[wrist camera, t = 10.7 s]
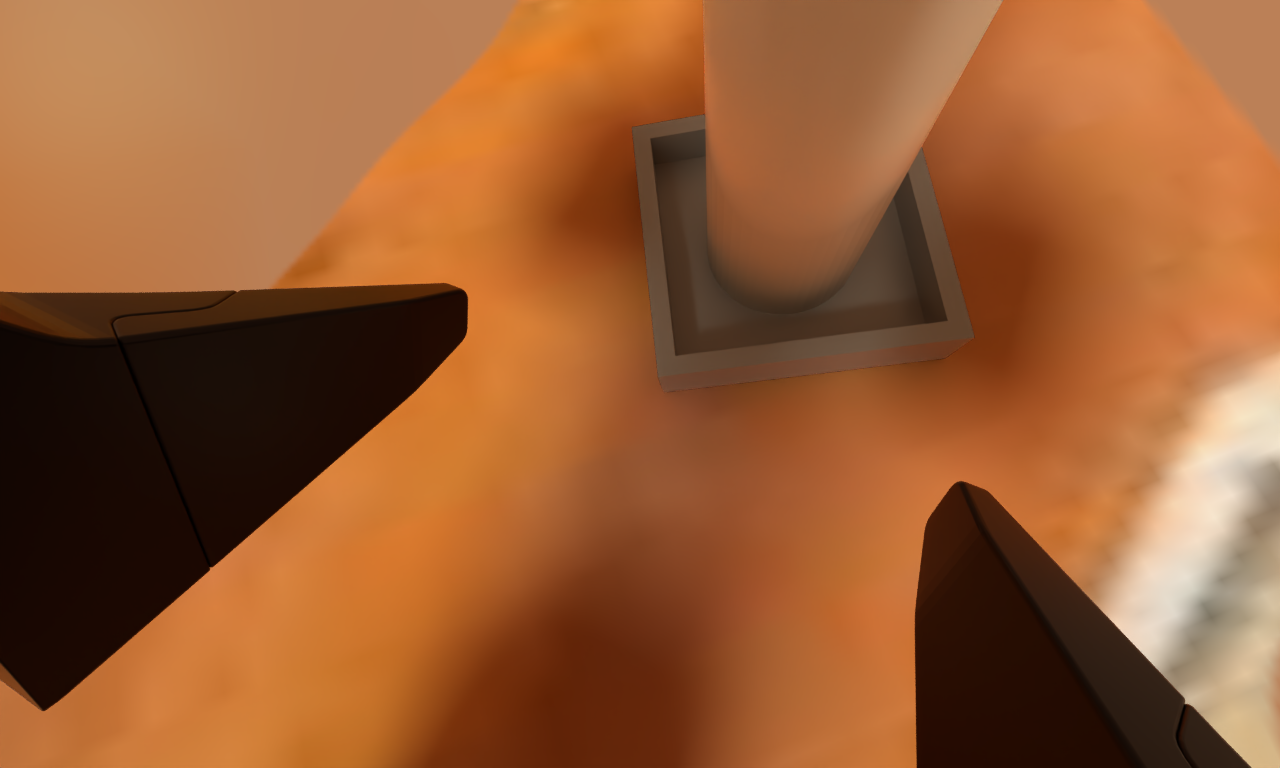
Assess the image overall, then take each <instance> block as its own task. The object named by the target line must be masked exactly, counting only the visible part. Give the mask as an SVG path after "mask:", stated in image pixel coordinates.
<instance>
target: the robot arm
mask: <svg viewBox="0 0 1280 768" xmlns="http://www.w3.org/2000/svg"><path fill="white" fill-rule="evenodd" d="M467 324H468V297H467V294H466V292H465V291H464V290H463V289H461V288H458V287H455V286H453V285H450V284H447V283H434V284H406V285H377V286H349V287H320V288H292V289H264V290H240V291H239V292H236V291H202V292H156V293H155V292H152V293H18V292H0V680H1V681H3V682H4V683H5V684H7V685H8V686H9V687H11V688H12V689H13V690H15V691H16V692H17V693H19V694H20V695H21V696H23V697H24V698H25V699H27V700H28V701H29V702H31V703H32V704H33V705H35V706H36V707H37V708H38V709H40V710H41V711H45V710H47V709H48V708H50V707H51V706H53V705H54V704H55V703H57V702H58V701H59V700H61V699H62V698H63V697H64V696H66V695H67V694H68V693H69V692H70V691H71V690H73V689H74V688H75V687H76V686H77V685H78V684H79V683H81V682H82V681H83V680H84V679H85V678H86V677H88V676H89V675H90V674H91V673H92V672H93V671H94V670H96V669H97V668H98V667H99V666H100V665H101V664H103V663H104V662H105V661H106V660H107V659H108V658H109V657H111V656H112V655H113V654H114V653H115V652H116V651H118V650H119V649H120V648H121V647H122V646H123V645H124V644H126V643H127V642H128V641H129V640H130V639H131V638H132V637H134V636H135V635H136V634H137V633H138V632H139V631H141V630H142V629H143V628H144V627H145V626H146V625H147V624H149V623H150V622H151V621H152V620H153V619H154V618H156V617H157V616H158V615H159V614H160V613H161V612H162V611H164V610H165V609H166V608H167V607H168V606H169V605H171V604H172V603H173V602H174V601H175V600H176V599H177V598H179V597H180V596H181V595H182V594H183V593H184V592H185V591H187V590H188V589H189V588H190V587H191V586H192V585H194V584H195V583H196V582H197V581H198V580H199V579H200V578H202V577H203V576H204V575H205V574H206V573H207V572H209V571H210V567H214V566H215V565H216V564H217V563H218V562H219V561H221V560H222V559H223V558H224V557H225V556H226V555H228V554H229V553H230V552H231V551H232V550H233V549H234V548H236V547H237V546H238V545H239V544H240V543H241V542H243V541H244V540H245V539H246V538H247V537H248V536H249V535H251V534H252V533H253V532H254V531H255V530H256V529H258V528H259V527H260V526H261V525H262V524H263V523H264V522H266V521H267V520H268V519H269V518H270V517H271V516H273V515H274V514H275V513H276V512H277V511H278V510H279V509H281V508H282V507H283V506H284V505H285V504H286V503H288V502H289V501H290V500H291V499H292V498H293V497H294V496H296V495H297V494H298V493H299V492H300V491H301V490H303V489H304V488H305V487H306V486H307V485H308V484H309V483H311V482H312V481H313V480H314V479H315V478H316V477H318V476H319V475H320V474H321V473H322V472H323V471H324V470H326V469H327V468H328V467H329V466H330V465H331V464H333V463H334V462H335V461H336V460H337V459H338V458H339V457H341V456H342V455H343V454H344V453H345V452H346V451H348V450H349V449H350V448H351V447H352V446H353V445H354V444H356V443H357V442H358V441H359V440H360V439H361V438H363V437H364V436H365V435H366V434H367V433H368V432H369V431H371V430H372V429H373V428H374V427H375V426H376V425H378V424H379V423H380V422H381V421H382V420H383V419H384V418H386V417H387V416H388V415H389V414H390V413H391V412H393V411H394V410H395V409H396V408H397V407H398V406H399V405H401V404H402V403H403V402H404V401H405V400H406V399H407V398H409V397H410V396H411V395H412V394H413V393H414V392H415V391H416V390H417V389H418V388H419V387H420V386H421V385H422V384H423V383H424V382H425V381H426V380H427V379H428V378H429V377H430V375H431V374H432V373H433V372H434V371H435V370H436V369H437V368H438V367H439V366H440V365H441V364H442V363H443V362H444V360H445V359H446V358H447V357H448V356H449V355H450V354H451V353H452V352H453V351H454V350H455V349H456V348H457V346H458V345H459V344H460V343H461V342H462V341H463V339H464V338H465V336H466V333H467ZM915 680H916V752H917V768H1251V767H1250V766H1249V765H1248V764H1247V763H1246V762H1245V761H1244V760H1243V759H1242V757H1241V756H1240V755H1239V754H1238V753H1237V752H1236V751H1235V750H1234V749H1233V748H1232V747H1231V746H1230V745H1229V744H1228V743H1227V742H1226V741H1225V740H1224V739H1223V738H1222V737H1221V736H1220V735H1219V734H1218V733H1217V732H1216V731H1215V730H1214V728H1213V727H1212V726H1211V725H1210V724H1209V723H1208V722H1207V721H1206V720H1205V719H1204V718H1203V717H1202V716H1201V715H1200V714H1199V713H1198V712H1197V710H1196V709H1195V708H1194V707H1193V706H1191V705H1189V704H1185V698H1184V697H1183V696H1182V695H1181V694H1180V693H1179V692H1178V691H1177V690H1176V689H1175V688H1174V686H1173V685H1172V684H1171V683H1170V682H1169V681H1168V680H1167V679H1166V678H1165V677H1164V676H1163V675H1162V674H1161V673H1160V672H1159V671H1158V670H1157V669H1156V668H1155V666H1154V665H1153V664H1152V663H1151V662H1150V661H1149V660H1148V659H1147V658H1146V657H1145V656H1144V655H1143V654H1142V653H1141V652H1140V651H1139V650H1138V649H1137V648H1136V646H1135V645H1134V644H1133V643H1132V642H1131V641H1130V640H1129V639H1128V638H1127V637H1126V636H1125V635H1124V634H1123V633H1122V632H1121V631H1120V630H1119V629H1118V628H1117V626H1116V625H1115V624H1114V623H1113V622H1112V621H1111V620H1110V619H1109V618H1108V617H1107V616H1106V615H1105V614H1104V613H1103V612H1102V611H1101V610H1100V609H1099V608H1098V606H1097V605H1096V604H1095V603H1094V602H1093V601H1092V600H1091V599H1090V598H1089V597H1088V596H1087V595H1086V594H1085V593H1084V592H1083V591H1082V590H1081V589H1080V588H1079V586H1078V585H1077V584H1076V583H1075V582H1074V581H1073V580H1072V579H1071V578H1070V577H1069V576H1068V575H1067V574H1066V573H1065V572H1064V571H1063V570H1062V569H1061V567H1060V566H1059V565H1058V564H1057V563H1056V562H1055V561H1054V560H1053V559H1052V558H1051V557H1050V556H1049V555H1048V554H1047V553H1046V552H1045V551H1044V550H1043V549H1042V547H1041V546H1040V545H1039V544H1038V543H1037V542H1036V541H1035V540H1034V539H1033V538H1032V537H1031V536H1030V535H1029V534H1028V533H1027V532H1026V531H1025V530H1024V529H1023V527H1022V526H1021V525H1020V524H1019V523H1018V522H1017V521H1016V520H1015V519H1014V518H1013V517H1012V516H1011V515H1010V514H1009V513H1008V512H1007V511H1006V510H1005V508H1004V507H1003V506H1002V505H1001V504H1000V503H999V502H998V501H997V500H996V499H995V498H994V497H993V496H992V495H991V494H990V493H989V492H988V491H986V490H985V489H982V488H979V487H977V486H974V485H972V484H969V483H966V482H963V481H959V482H956V483H955V484H954V485H953V486H952V487H951V488H950V489H949V491H948V492H947V493H946V495H945V496H944V497H943V499H942V500H941V502H940V503H939V504H938V506H937V507H936V509H935V510H934V511H933V513H932V514H931V516H930V517H929V519H928V521H927V524H926V527H925V532H924V540H923V548H922V557H921V565H920V573H919V581H918V589H917V598H916V608H915Z"/></svg>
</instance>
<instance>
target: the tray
mask: <svg viewBox="0 0 1280 768" xmlns="http://www.w3.org/2000/svg"><path fill="white" fill-rule="evenodd" d="M632 135H633V144H634V154H635V163H636V173H637V182H638V192H639V201H640V211H641V220H642V230H643V239H644V249H645V258H646V268H647V277H648V287H649V297H650V306H651V316H652V325H653V335H654V344H655V354H656V363H657V373H658V378H659V381H660V384H661V387H662V389H663V392H672V391H680V390H689V389H697V388H705V387H713V386H721V385H730V384H738V383H746V382H754V381H763V380H771V379H779V378H787V377H795V376H804V375H812V374H820V373H828V372H836V371H845V370H853V369H861V368H869V367H878V366H886V365H894V364H902V363H910V362H919V361H927V360H935V359H943V358H946V357H948V356H949V355H951V354H952V353H953V352H955V351H956V350H958V349H959V348H961V347H962V346H963V345H965V344H966V343H968V342H969V341H970V340H972V339H973V338H975V336H974V333H973V329H972V325H971V322H970V318H969V315H968V311H967V307H966V304H965V300H964V297H963V293H962V289H961V286H960V282H959V279H958V275H957V271H956V268H955V264H954V261H953V257H952V253H951V250H950V246H949V243H948V239H947V235H946V232H945V228H944V225H943V221H942V217H941V214H940V210H939V207H938V203H937V199H936V196H935V192H934V189H933V185H932V182H931V178H930V174H929V171H928V167H927V164H926V160H925V156H924V153H923V149H922V147H921V149H920V150H919V152H918V154H917V156H916V158H915V159H914V161H913V163H912V165H911V167H910V168H909V170H908V172H907V174H906V176H905V177H904V179H903V181H902V183H901V185H900V186H899V188H898V190H897V192H896V194H895V195H894V197H893V199H892V201H891V203H890V204H889V206H888V208H887V210H886V212H885V213H884V215H883V217H882V219H881V221H880V222H879V224H878V226H877V228H876V230H875V231H874V233H873V235H872V237H871V239H870V240H869V242H868V244H867V246H866V248H865V249H864V251H863V253H862V255H861V256H860V258H859V260H858V262H857V264H856V265H855V267H854V269H853V271H852V273H851V274H850V276H849V278H848V280H847V281H846V283H845V284H844V285H843V287H842V288H841V289H840V290H839V291H838V292H837V293H836V294H835V295H834V296H833V297H831V298H830V299H829V300H828V301H826V302H824V303H823V304H821V305H819V306H817V307H815V308H812V309H810V310H807V311H803V312H800V313H794V314H782V315H780V314H769V313H764V312H759V311H756V310H753V309H750V308H748V307H746V306H744V305H742V304H740V303H739V302H737V301H736V300H734V299H733V298H732V297H730V296H729V295H728V294H727V293H726V292H725V291H724V290H723V289H722V288H721V286H720V285H719V284H718V282H717V281H716V279H715V277H714V275H713V273H712V271H711V268H710V265H709V260H708V250H707V194H706V137H705V114H703V115H698V116H692V117H686V118H681V119H675V120H669V121H663V122H658V123H652V124H646V125H641V126H635V127H632Z"/></svg>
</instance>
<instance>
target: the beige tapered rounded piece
mask: <svg viewBox="0 0 1280 768" xmlns="http://www.w3.org/2000/svg"><path fill="white" fill-rule="evenodd" d="M1002 1H1003V0H703V21H704V79H705V137H706V194H707V250H708V260H709V265H710V268H711V271H712V273H713V275H714V277H715V279H716V281H717V282H718V284H719V285H720V286H721V288H722V289H723V290H724V291H725V292H726V293H727V294H728V295H729V296H730V297H732V298H733V299H734V300H736V301H737V302H739V303H740V304H742V305H744V306H746V307H748V308H750V309H753V310H756V311H759V312H764V313H769V314H780V315H782V314H794V313H800V312H803V311H807V310H810V309H812V308H815V307H817V306H819V305H821V304H823V303H824V302H826V301H828V300H829V299H830V298H831V297H833V296H834V295H835V294H836V293H837V292H838V291H839V290H840V289H841V288H842V287H843V285H844V284H845V283H846V281H847V280H848V278H849V276H850V274H851V273H852V271H853V269H854V267H855V265H856V264H857V262H858V260H859V258H860V256H861V255H862V253H863V251H864V249H865V248H866V246H867V244H868V242H869V240H870V239H871V237H872V235H873V233H874V231H875V230H876V228H877V226H878V224H879V222H880V221H881V219H882V217H883V215H884V213H885V212H886V210H887V208H888V206H889V204H890V203H891V201H892V199H893V197H894V195H895V194H896V192H897V190H898V188H899V186H900V185H901V183H902V181H903V179H904V177H905V176H906V174H907V172H908V170H909V168H910V167H911V165H912V163H913V161H914V159H915V158H916V156H917V154H918V152H919V150H920V149H921V147H922V145H923V143H924V141H925V140H926V138H927V136H928V134H929V133H930V131H931V129H932V127H933V125H934V124H935V122H936V120H937V118H938V116H939V115H940V113H941V111H942V109H943V107H944V106H945V104H946V102H947V100H948V98H949V97H950V95H951V93H952V91H953V89H954V88H955V86H956V84H957V82H958V80H959V79H960V77H961V75H962V73H963V71H964V70H965V68H966V66H967V64H968V62H969V61H970V59H971V57H972V55H973V53H974V52H975V50H976V48H977V46H978V44H979V43H980V41H981V39H982V37H983V35H984V34H985V32H986V30H987V28H988V27H989V25H990V23H991V21H992V19H993V18H994V16H995V14H996V12H997V10H998V9H999V7H1000V5H1001V3H1002Z"/></svg>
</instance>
